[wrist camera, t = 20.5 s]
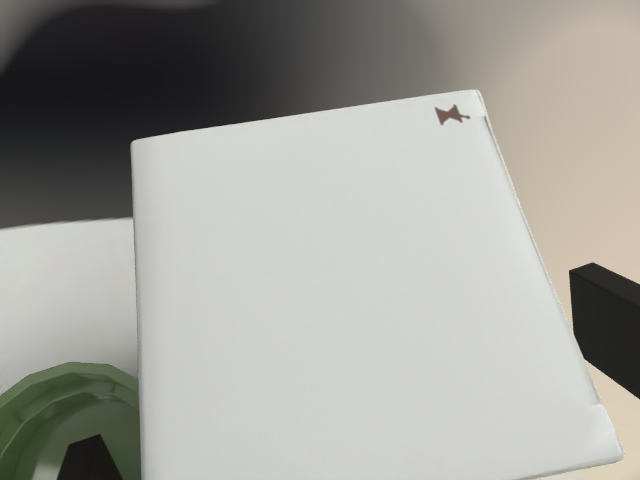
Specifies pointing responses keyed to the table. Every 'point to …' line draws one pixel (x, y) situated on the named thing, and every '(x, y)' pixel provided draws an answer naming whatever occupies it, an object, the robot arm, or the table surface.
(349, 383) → the supplement box
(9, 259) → the table surface
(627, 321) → the robot arm
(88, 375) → the dish
